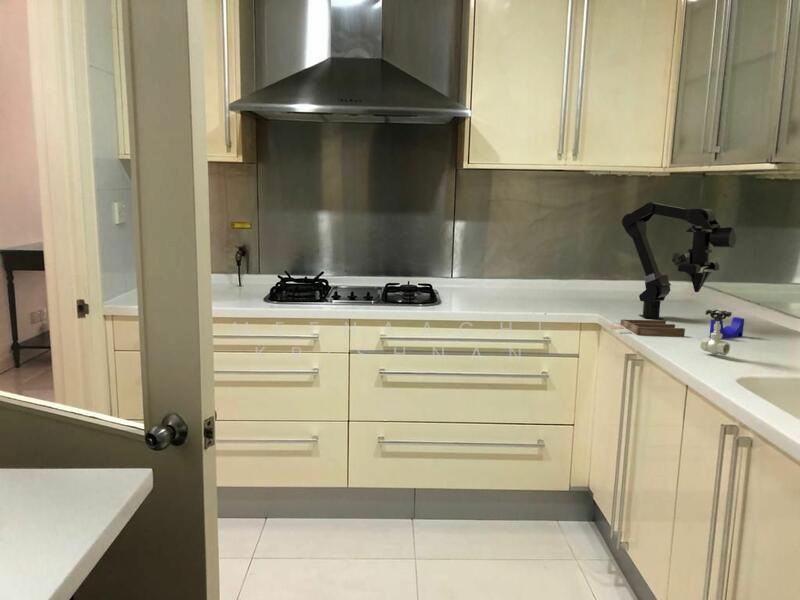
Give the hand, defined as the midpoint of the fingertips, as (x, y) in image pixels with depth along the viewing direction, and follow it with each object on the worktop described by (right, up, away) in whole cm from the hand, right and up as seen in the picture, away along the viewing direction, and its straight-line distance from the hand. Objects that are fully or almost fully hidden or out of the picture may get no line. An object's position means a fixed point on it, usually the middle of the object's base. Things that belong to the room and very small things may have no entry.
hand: (696, 292), depth 222 cm
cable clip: (+2, -15, -15) cm, 21 cm away
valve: (-13, -18, -40) cm, 46 cm away
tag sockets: (-22, -13, -9) cm, 27 cm away
